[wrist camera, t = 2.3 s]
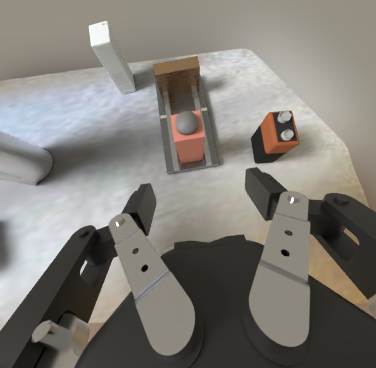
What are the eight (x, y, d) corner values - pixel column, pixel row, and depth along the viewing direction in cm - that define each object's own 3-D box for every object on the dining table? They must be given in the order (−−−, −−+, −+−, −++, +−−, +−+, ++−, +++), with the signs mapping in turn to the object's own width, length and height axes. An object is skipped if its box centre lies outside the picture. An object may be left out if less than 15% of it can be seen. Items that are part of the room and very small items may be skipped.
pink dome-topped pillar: (202, 159, 33) (205, 132, 22) (181, 163, 33) (172, 138, 22) (198, 140, 34) (199, 104, 23) (178, 144, 34) (168, 110, 23)
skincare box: (118, 78, 41) (87, 24, 30) (133, 74, 41) (107, 19, 30) (121, 95, 40) (90, 46, 28) (136, 91, 40) (111, 40, 28)
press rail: (218, 165, 34) (223, 152, 26) (168, 174, 34) (160, 163, 27) (199, 77, 39) (199, 46, 32) (156, 85, 40) (147, 56, 32)
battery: (268, 136, 35) (296, 105, 25) (273, 162, 33) (305, 140, 23) (250, 137, 35) (270, 107, 25) (254, 164, 33) (277, 143, 24)
